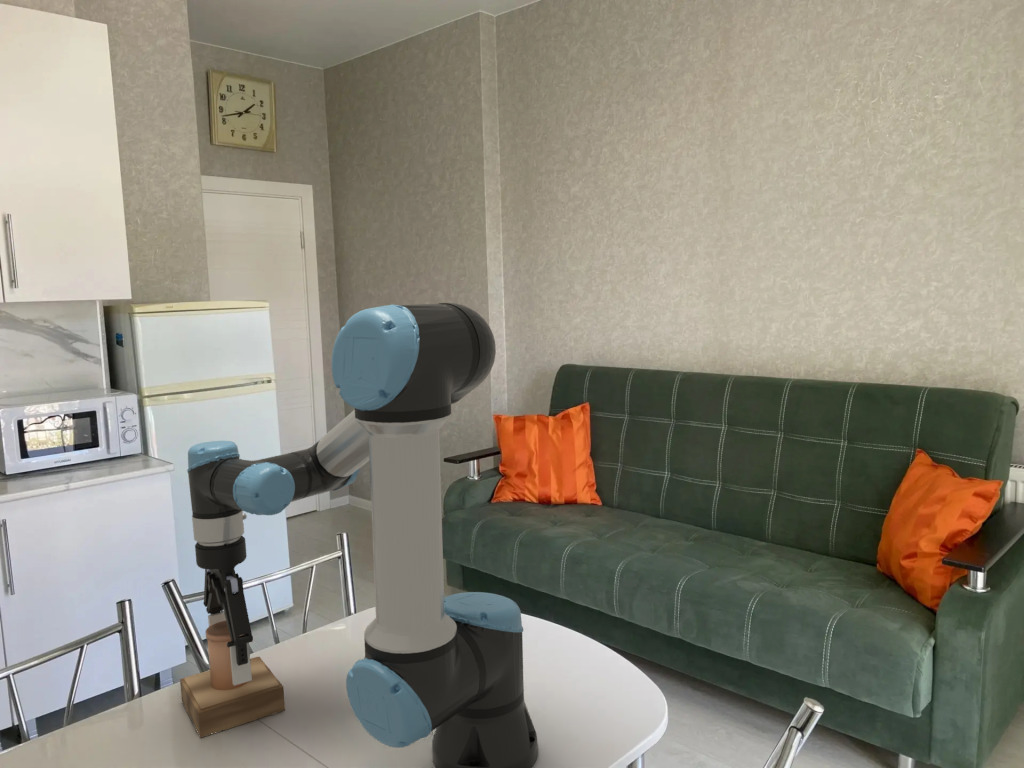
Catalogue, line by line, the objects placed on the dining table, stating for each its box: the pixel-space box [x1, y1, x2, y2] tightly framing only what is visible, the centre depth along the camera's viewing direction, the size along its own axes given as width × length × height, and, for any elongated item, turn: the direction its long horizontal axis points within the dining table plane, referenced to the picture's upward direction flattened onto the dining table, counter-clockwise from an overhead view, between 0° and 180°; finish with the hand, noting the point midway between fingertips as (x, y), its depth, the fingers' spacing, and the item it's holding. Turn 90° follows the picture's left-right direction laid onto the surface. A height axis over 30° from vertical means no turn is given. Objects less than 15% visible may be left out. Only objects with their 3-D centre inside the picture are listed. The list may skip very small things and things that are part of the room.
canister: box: [205, 621, 247, 690], centre depth 125 cm, size 6×6×9 cm
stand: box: [179, 656, 286, 738], centre depth 126 cm, size 13×13×4 cm
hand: (230, 666), depth 125 cm, fingers open, 13 cm apart
